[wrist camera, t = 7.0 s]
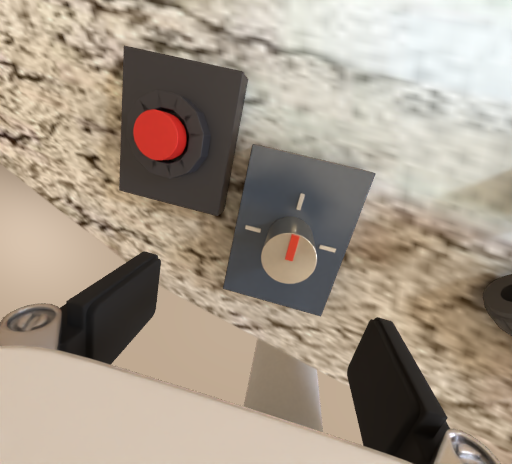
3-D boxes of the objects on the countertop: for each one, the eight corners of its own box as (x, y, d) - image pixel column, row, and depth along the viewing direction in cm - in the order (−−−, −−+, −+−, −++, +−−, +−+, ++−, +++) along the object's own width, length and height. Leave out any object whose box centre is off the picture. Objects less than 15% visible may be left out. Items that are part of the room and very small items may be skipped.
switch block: (223, 210, 25) (211, 221, 22) (133, 187, 26) (105, 193, 22) (248, 79, 21) (238, 64, 18) (139, 55, 22) (107, 35, 18)
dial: (305, 263, 23) (308, 292, 18) (263, 252, 23) (255, 278, 18) (318, 223, 21) (324, 242, 17) (273, 211, 22) (267, 228, 17)
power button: (184, 164, 21) (174, 165, 19) (144, 153, 21) (131, 154, 19) (190, 118, 20) (180, 115, 18) (147, 107, 20) (134, 104, 18)
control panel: (318, 299, 27) (321, 317, 24) (230, 274, 28) (222, 289, 25) (365, 170, 22) (376, 173, 19) (257, 144, 23) (252, 143, 20)
